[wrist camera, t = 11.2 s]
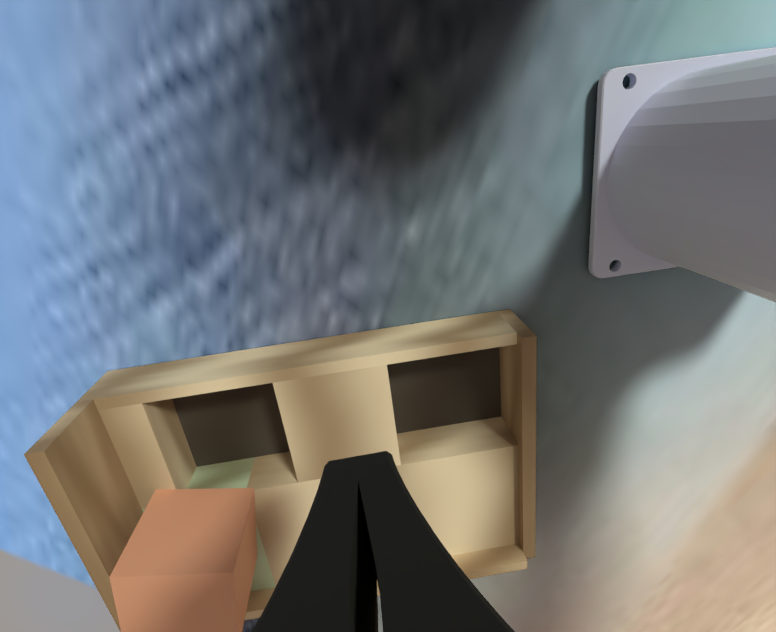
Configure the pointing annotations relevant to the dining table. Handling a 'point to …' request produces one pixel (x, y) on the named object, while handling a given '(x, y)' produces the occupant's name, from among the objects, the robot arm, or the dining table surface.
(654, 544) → the dining table surface
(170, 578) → the block
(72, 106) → the dining table surface
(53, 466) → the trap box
